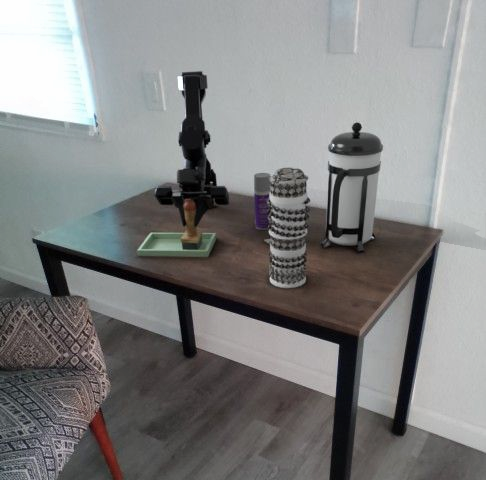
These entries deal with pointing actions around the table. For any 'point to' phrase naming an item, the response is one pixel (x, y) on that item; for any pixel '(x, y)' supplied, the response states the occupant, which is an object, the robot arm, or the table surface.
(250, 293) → the table surface
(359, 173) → the coffee press
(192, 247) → the wooden rubber stamp
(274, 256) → the decorative candle
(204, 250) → the tray
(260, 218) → the container
